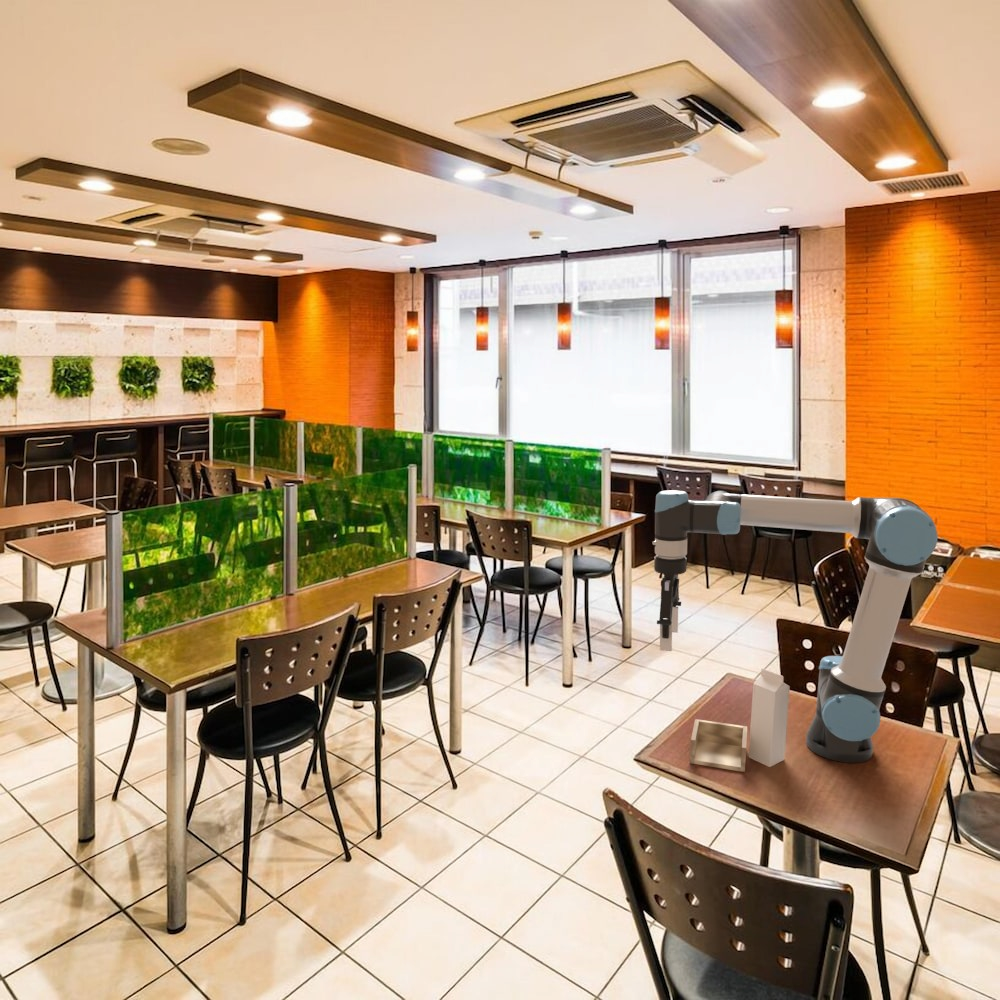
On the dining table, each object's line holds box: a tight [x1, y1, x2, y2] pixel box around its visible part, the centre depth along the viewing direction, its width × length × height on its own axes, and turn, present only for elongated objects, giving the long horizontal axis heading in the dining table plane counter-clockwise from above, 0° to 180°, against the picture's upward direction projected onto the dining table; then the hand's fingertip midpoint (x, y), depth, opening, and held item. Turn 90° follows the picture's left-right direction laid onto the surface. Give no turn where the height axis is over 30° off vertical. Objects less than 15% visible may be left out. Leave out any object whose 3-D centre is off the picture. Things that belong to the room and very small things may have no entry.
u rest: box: [689, 718, 748, 773], centre depth 187 cm, size 12×12×6 cm
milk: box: [748, 668, 791, 768], centre depth 185 cm, size 6×6×22 cm
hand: (669, 640), depth 188 cm, fingers open, 13 cm apart
